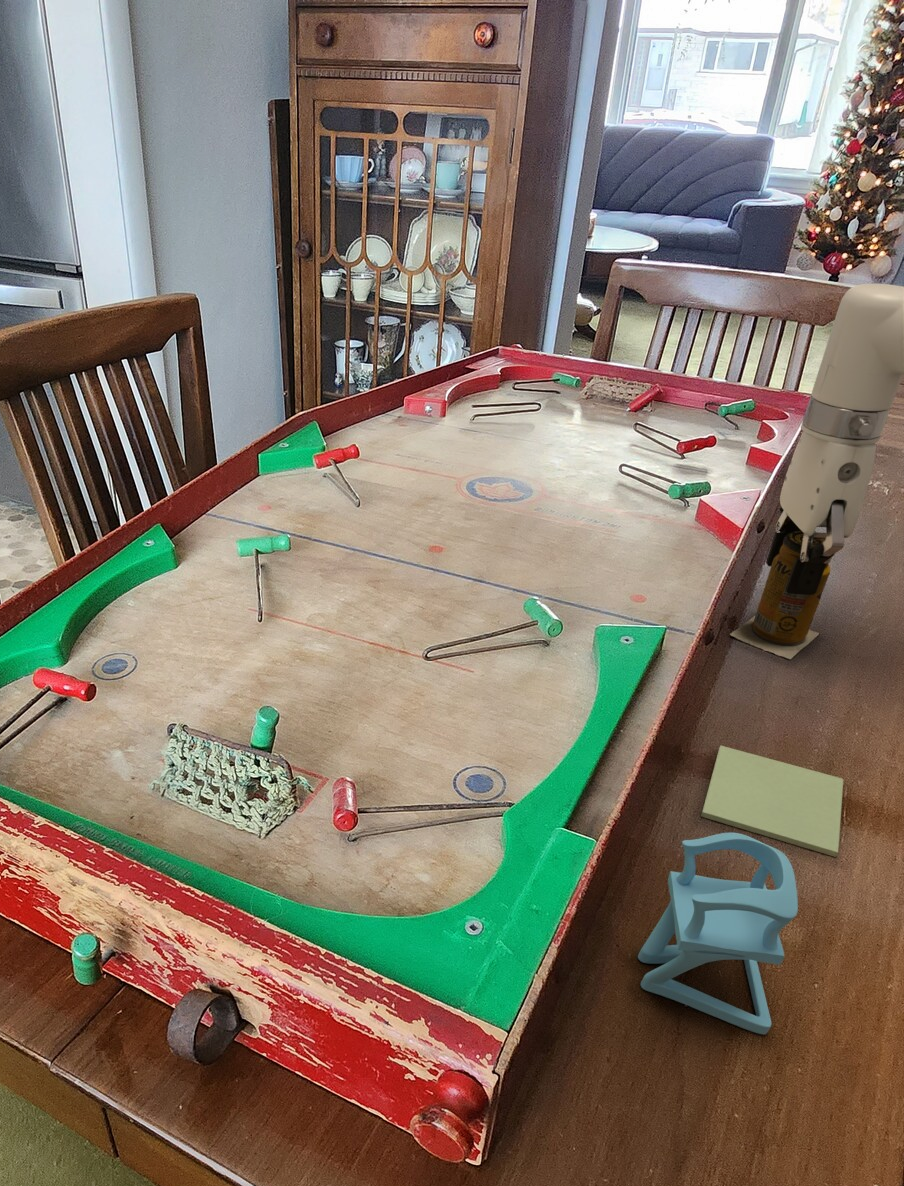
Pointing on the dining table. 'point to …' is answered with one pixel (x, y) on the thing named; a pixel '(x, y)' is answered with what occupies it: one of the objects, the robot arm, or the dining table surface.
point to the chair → (722, 927)
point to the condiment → (784, 606)
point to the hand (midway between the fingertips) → (789, 577)
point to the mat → (775, 800)
